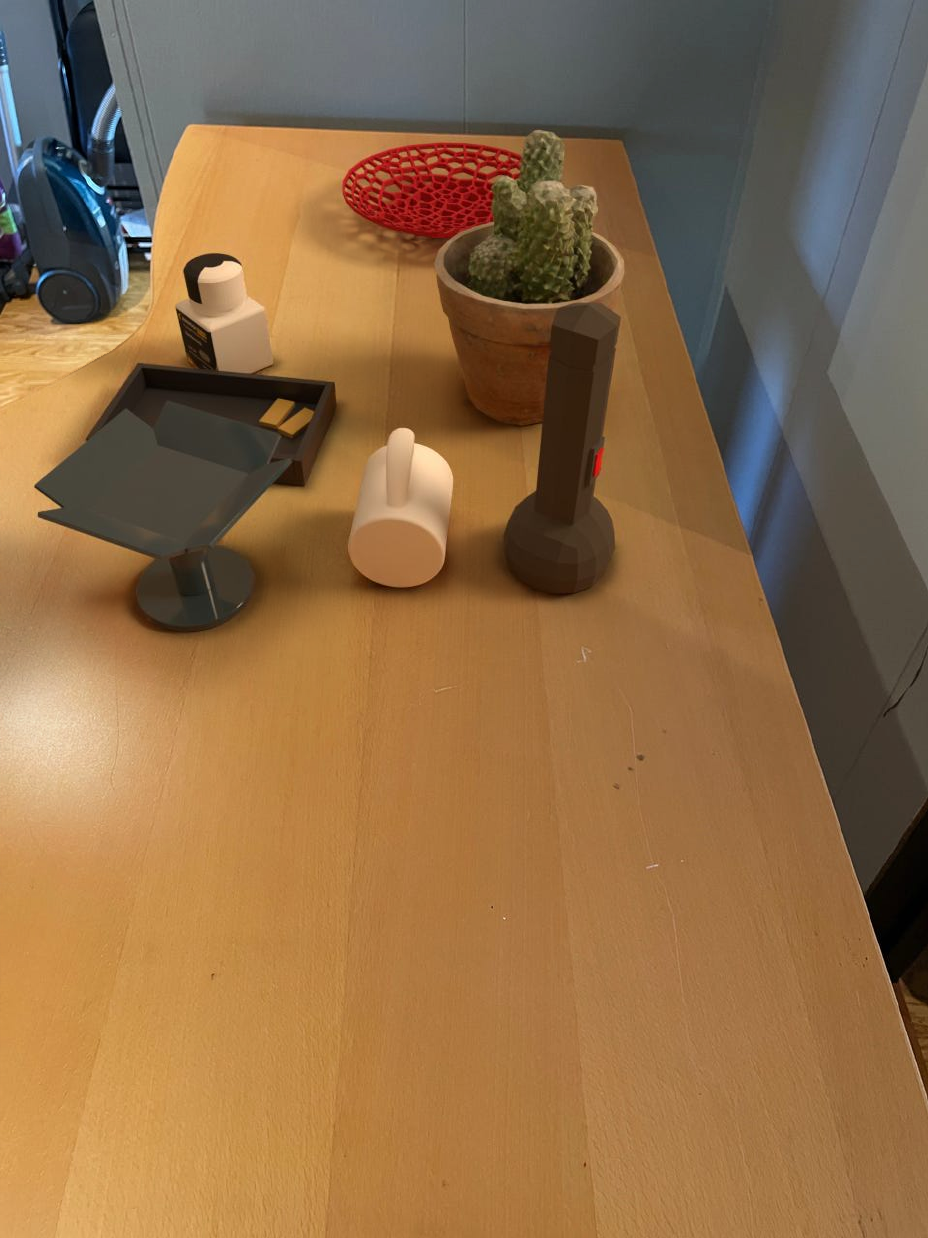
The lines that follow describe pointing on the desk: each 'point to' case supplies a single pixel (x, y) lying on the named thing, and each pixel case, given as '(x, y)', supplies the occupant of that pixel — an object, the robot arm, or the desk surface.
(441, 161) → the bowl
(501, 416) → the potted plant
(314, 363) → the desk surface
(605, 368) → the flashlight
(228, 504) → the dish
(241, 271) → the medicine bottle
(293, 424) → the key
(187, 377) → the tray
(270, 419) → the orange rectangular block
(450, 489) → the mug
